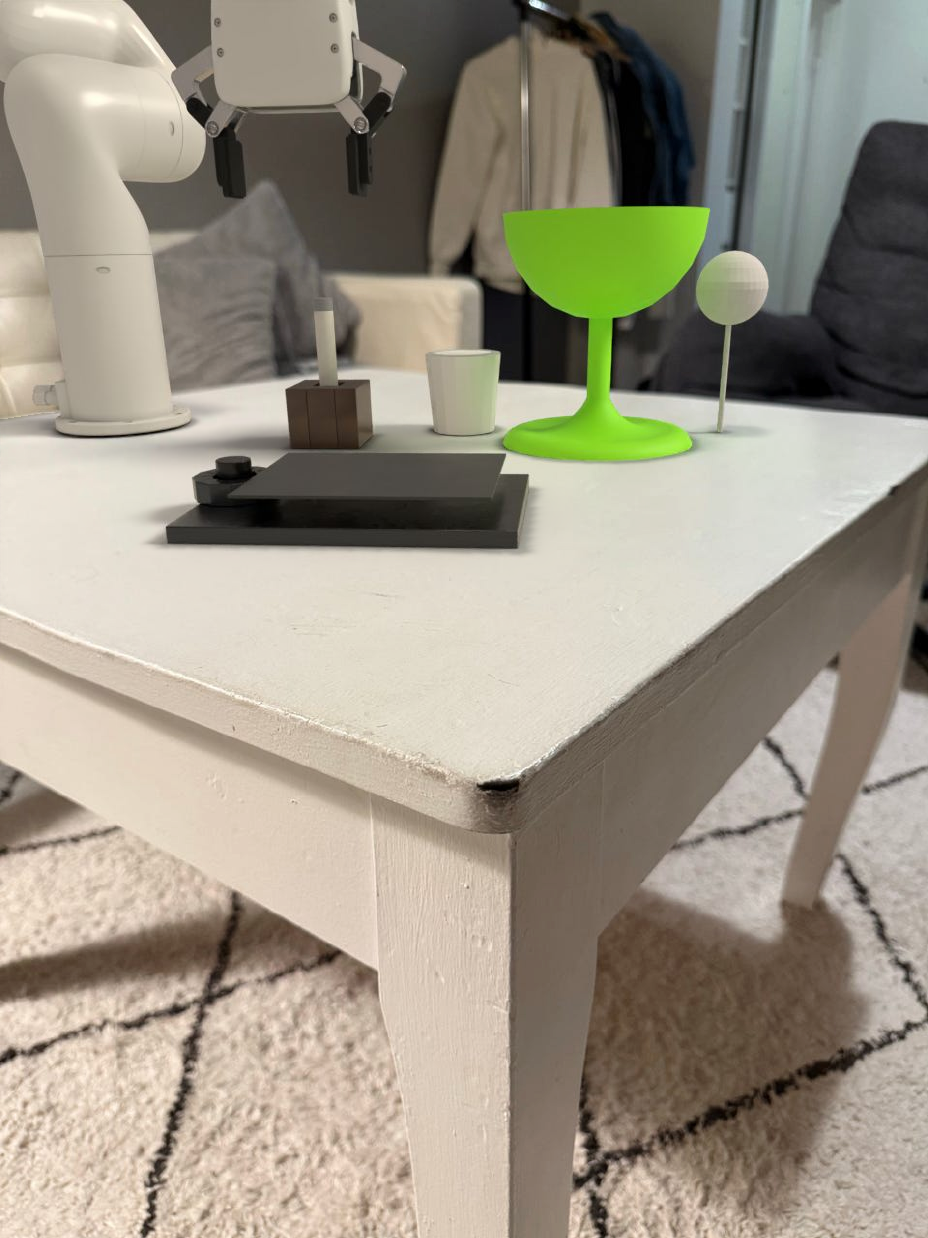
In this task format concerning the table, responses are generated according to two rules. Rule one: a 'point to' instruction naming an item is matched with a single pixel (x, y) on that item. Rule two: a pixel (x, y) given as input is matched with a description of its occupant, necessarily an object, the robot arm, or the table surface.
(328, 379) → the stylus
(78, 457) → the table surface
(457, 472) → the screen
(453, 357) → the shot glass
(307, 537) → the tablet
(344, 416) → the pen stand
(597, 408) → the wineglass
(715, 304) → the lollipop
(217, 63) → the robot arm
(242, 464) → the button
